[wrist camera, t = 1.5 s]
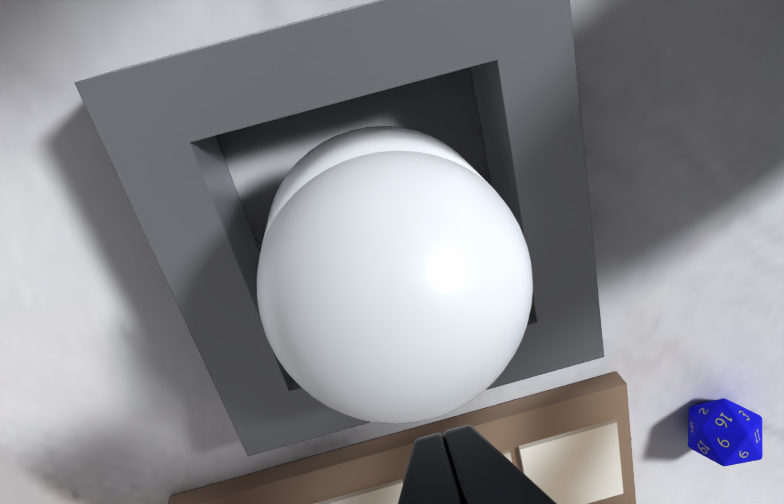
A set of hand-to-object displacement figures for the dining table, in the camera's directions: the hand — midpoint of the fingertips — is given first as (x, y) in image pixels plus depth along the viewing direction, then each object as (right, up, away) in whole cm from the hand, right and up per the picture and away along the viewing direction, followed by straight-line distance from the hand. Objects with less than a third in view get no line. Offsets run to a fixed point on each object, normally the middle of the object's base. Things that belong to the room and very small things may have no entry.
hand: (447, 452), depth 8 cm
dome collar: (-1, +4, +10) cm, 11 cm away
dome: (-1, +3, +8) cm, 9 cm away
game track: (0, -7, +16) cm, 17 cm away
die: (+13, -4, +16) cm, 21 cm away
